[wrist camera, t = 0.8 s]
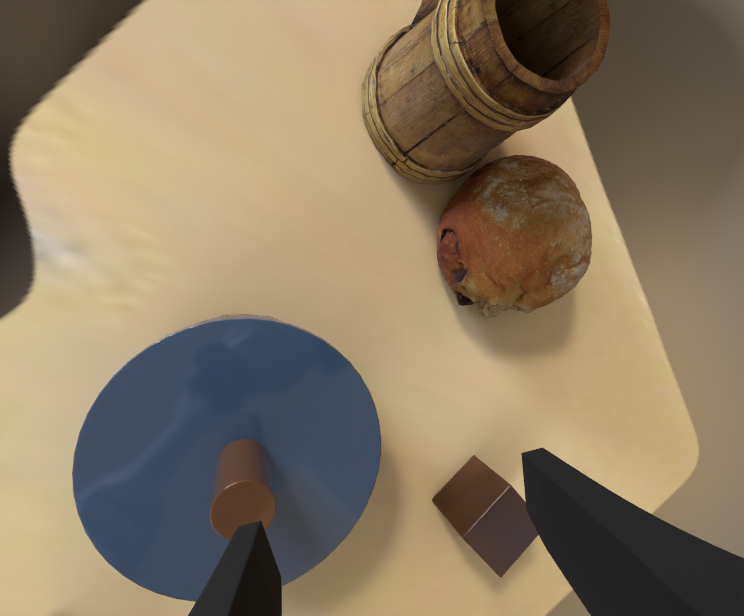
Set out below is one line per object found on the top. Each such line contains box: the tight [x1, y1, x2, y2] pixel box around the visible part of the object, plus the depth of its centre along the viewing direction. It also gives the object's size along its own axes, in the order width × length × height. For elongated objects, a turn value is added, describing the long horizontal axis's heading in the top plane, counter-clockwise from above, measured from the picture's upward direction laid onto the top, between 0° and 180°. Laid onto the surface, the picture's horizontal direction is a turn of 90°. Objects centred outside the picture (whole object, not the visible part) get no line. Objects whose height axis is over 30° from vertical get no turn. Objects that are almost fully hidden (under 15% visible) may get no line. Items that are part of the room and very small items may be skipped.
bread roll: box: [437, 155, 592, 318], centre depth 27 cm, size 10×10×8 cm
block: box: [432, 456, 539, 577], centre depth 29 cm, size 4×4×4 cm
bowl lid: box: [72, 317, 381, 602], centre depth 18 cm, size 14×14×5 cm
